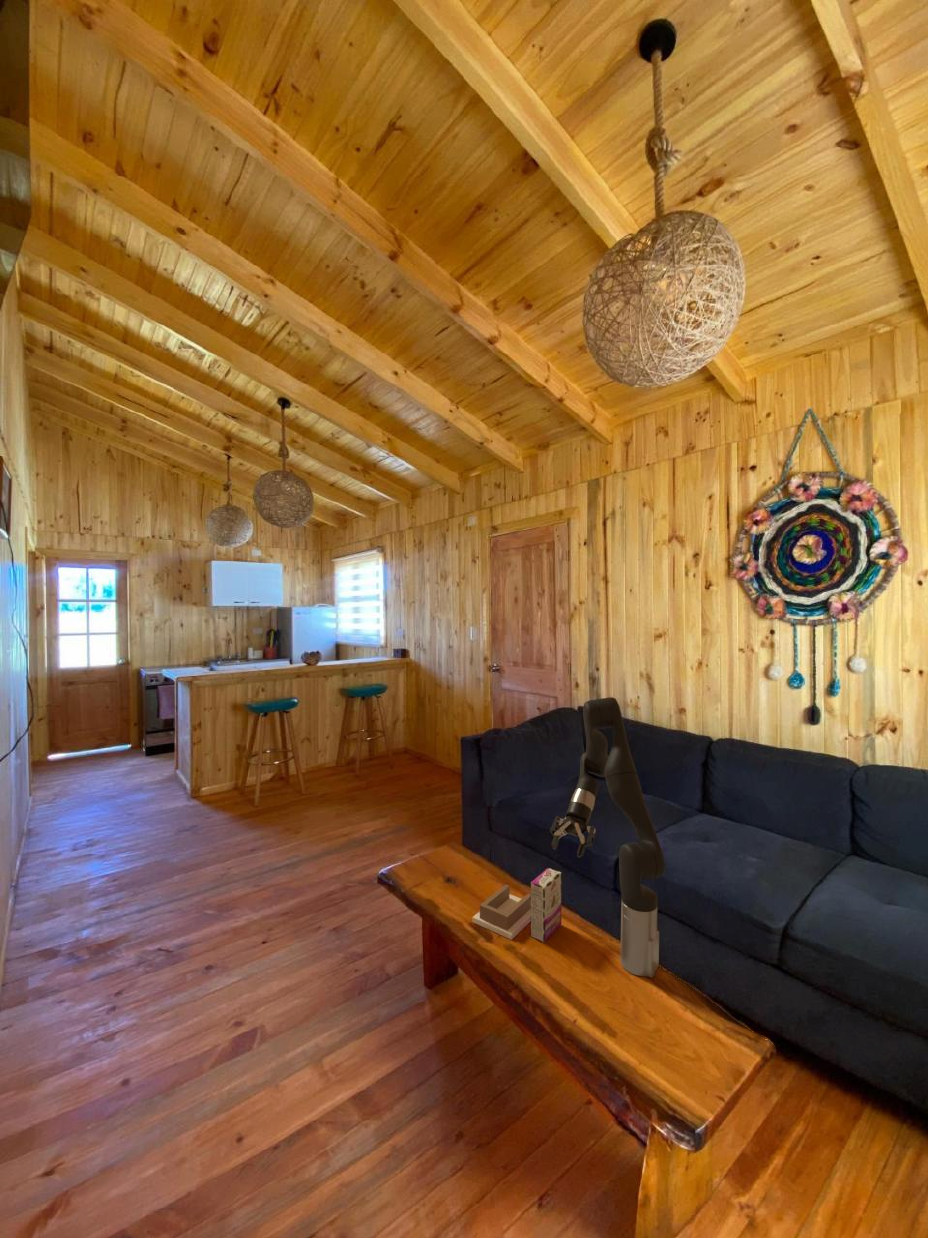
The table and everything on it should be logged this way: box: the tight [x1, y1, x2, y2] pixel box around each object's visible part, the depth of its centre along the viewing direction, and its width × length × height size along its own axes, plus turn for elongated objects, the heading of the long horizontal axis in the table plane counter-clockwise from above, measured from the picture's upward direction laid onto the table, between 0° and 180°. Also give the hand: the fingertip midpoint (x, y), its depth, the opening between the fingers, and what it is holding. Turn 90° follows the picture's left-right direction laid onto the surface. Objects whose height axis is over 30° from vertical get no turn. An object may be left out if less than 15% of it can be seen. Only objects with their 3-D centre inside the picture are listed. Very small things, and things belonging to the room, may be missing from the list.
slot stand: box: [471, 884, 531, 941], centre depth 161 cm, size 14×18×6 cm
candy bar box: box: [530, 867, 562, 943], centre depth 154 cm, size 11×5×16 cm, turn 143°
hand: (565, 852), depth 164 cm, fingers open, 8 cm apart
